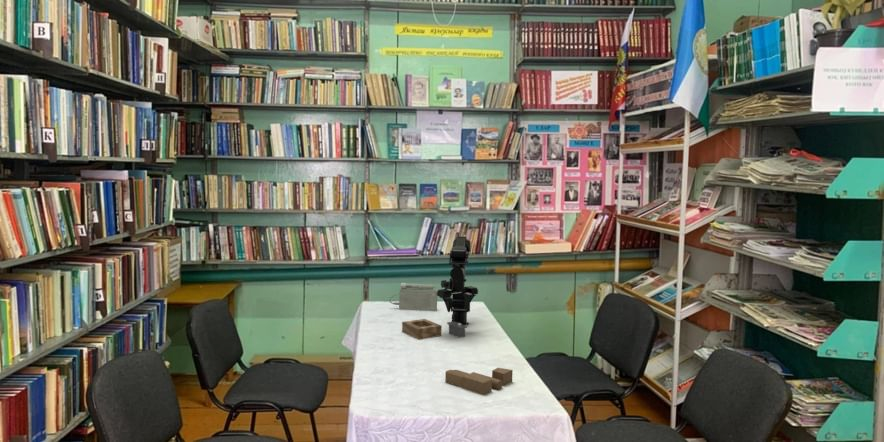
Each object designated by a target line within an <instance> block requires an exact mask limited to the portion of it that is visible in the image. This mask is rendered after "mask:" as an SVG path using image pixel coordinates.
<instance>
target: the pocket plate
mask: <svg viewBox="0 0 884 442" xmlns="http://www.w3.org/2000/svg"><path fill="white" fill-rule="evenodd" d="M401 323H402V325H401V333H403V334H406V335H408V336H410V337H411V338H414V339H417V340H423V339H428V338H435V337H441V336H442V327H443V326H442V325H441V324H438V323H436V322H433V321H431V320H429V319H427V318H422V319H421V318H420V319H413V320H407V321H402V322H401Z"/></svg>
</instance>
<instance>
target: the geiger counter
mask: <svg viewBox="0 0 884 442" xmlns="http://www.w3.org/2000/svg"><path fill="white" fill-rule="evenodd" d="M437 291H438V289H437V287H436V286H435V285H434V284H426V283H424V284H422V283H421V284H420V283H407V282H401V284H400V288H399V293H397V294H393V295H392V296H391V297H390V298H389V303H390V304H392V305H395V306H398V309H399V311H400V310H401V311H418V310H419V311H420V312H422V311H424V312H437V311H438V296H437ZM395 296H398V302H397V301H396V302H392V301H391V299H393V297H395Z"/></svg>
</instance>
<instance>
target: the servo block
mask: <svg viewBox="0 0 884 442" xmlns="http://www.w3.org/2000/svg"><path fill="white" fill-rule="evenodd" d="M446 324H447V325H448V334H449V335H452V336H454V337H456V338H460V337H466V329H467V328H468V326H467V325H462V324H461V323H457V322H455V321H454V322H452V321H448V322H447V323H446Z"/></svg>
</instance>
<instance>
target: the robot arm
mask: <svg viewBox="0 0 884 442" xmlns="http://www.w3.org/2000/svg"><path fill="white" fill-rule="evenodd" d="M452 243H453V245H452V248H451V250H450V251H449V262H448V265H452V266H451V270H450V272H449V277H450V278H449V280H448V281H447V280H446V279H445V280H444V279H443V280H441V281H440V287H441V288H440V289H437V297H439V298H440V299H442V301H443V302H444V305H445V308H446V311H447V312H448V313H452V314H451V322H454V321H455V322H457V323H461V324H462V325H465V326H467V325H469V322H468V321H467V320H468V318H467V317H468V316H467V315H468V313H469V312H471V302H472V301H473V299H474V297H477V295H478V294H479V289H478V287H475V286H472V285H469V286H468V285H467V286H466V285H465V284H466V282H467V279H466V266H467V265H468V264H469V257H470V253H471V252H472V251H471V249H472V242H471V240H469V239H468V237H467V236H463V235H461V236H460V235H458V236H456V238H455V239H454V240H453V242H452Z"/></svg>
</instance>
